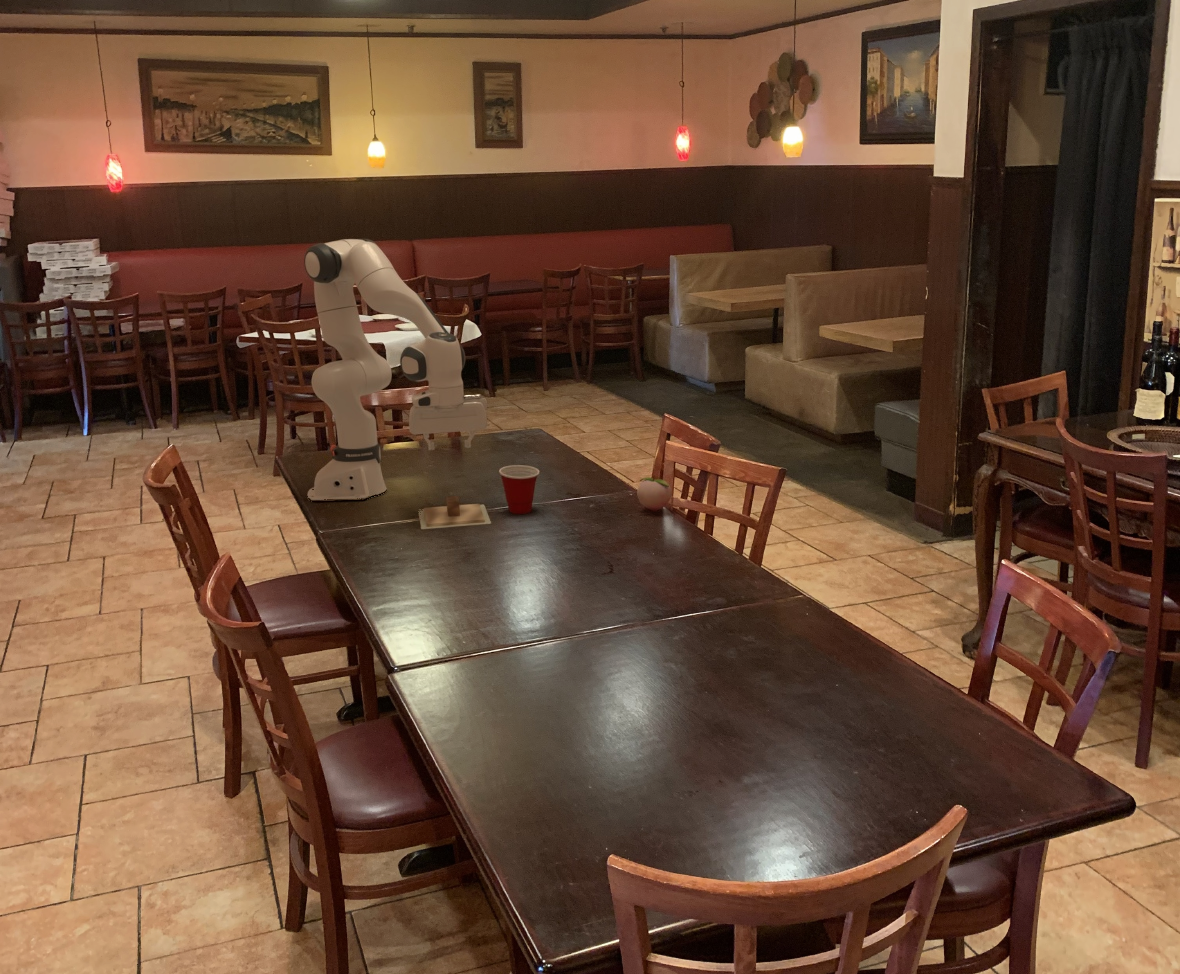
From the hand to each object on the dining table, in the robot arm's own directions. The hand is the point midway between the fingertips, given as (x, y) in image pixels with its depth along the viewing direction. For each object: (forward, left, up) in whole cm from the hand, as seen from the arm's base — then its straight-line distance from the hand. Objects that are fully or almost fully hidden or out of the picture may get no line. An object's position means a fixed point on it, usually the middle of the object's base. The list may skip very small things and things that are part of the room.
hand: (449, 448), depth 289 cm
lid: (0, 0, -18) cm, 19 cm away
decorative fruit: (+52, -9, -19) cm, 57 cm away
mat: (0, 0, -19) cm, 19 cm away
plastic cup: (+18, 0, -19) cm, 26 cm away
